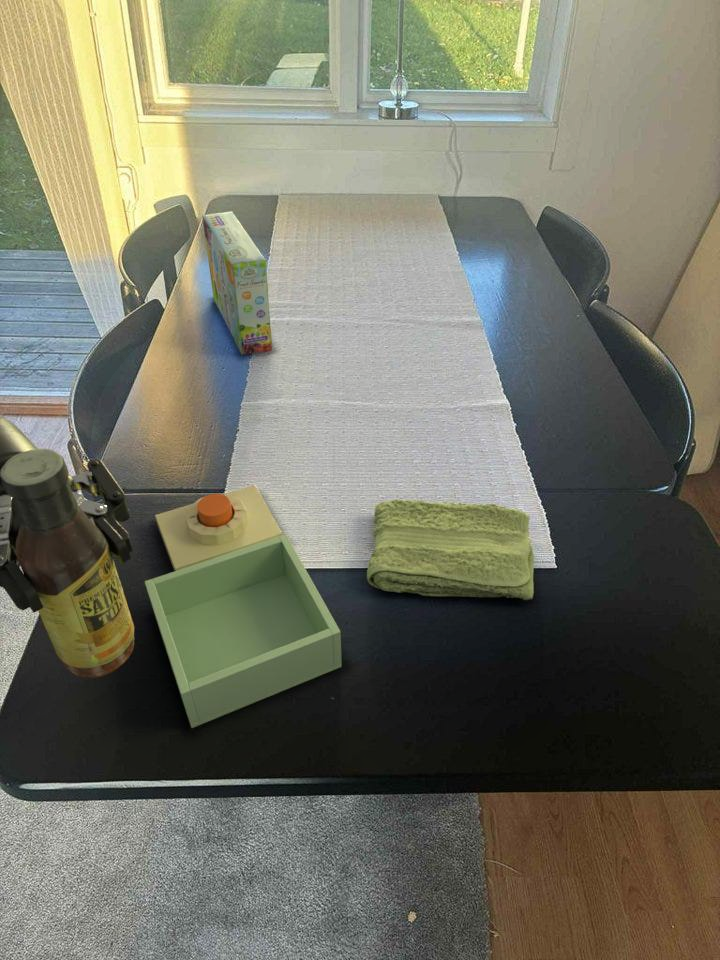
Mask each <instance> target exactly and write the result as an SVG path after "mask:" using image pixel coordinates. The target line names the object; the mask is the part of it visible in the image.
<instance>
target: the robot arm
mask: <svg viewBox="0 0 720 960" xmlns="http://www.w3.org/2000/svg"><path fill="white" fill-rule="evenodd" d="M33 449H38V447H37V446H36V445H35V444H34V443H33V442H32V441H31V440H30V439H29V438H28V436H27V435H26V434H25V433H24V432H23V431H22V429H20V428H19V427H18V426H17V425H16V424H14V423H13V422H12V421H11V420H9V419H7V418H6V417H5V415H3V414H2V413H1V412H0V471H1V468H2V467H3V466H4V464H5V463H6V462H7V461H8V460H9V459H11V458H12V457H14V456H15V455H17V454H20V453H22V452H26V451H29V450H33ZM86 466H87V469H88V470H85V471H83V472H79V473H77V474H75V475H73V476H71V475H70V474H69V477H68V481H69V484H70V487H71V490H72V493H73V496H74V497H75V499H76V501H77V504H78V506H79V507H80V508H81V509H82V511H83V512H84V513H85V514H86V516H87V517H88V518H89V519H90V520H91V521H92V522H93V524H94V525H95V526H96V527H97V528H98V529H99V530H100V531H101V532H102V533H103V534H104V535H105V536H106V538H107V541H108V544H109V547H110V550H111V554H112V556H114V557H115V558H116V559H117V561H118V562H119V563H120V564H121V565H124V564H125V563H128V562H129V561H131V560H132V557H131V553H132V552H133V551H134V548H133V544H132V541H131V537H130V534H129V532H128V531H127V530H126V529H125V527H123V526H122V525H121V523H125V522H128V520H129V519H131V512H130V509H129V507H128V504H127V501H126V494H125V492H124V491H123V489H122V487H121V486H120V485H119V483H118V482H117V480H116V479H115V478H114V477H113V475H112V473H111V472H110V470H109V469H108V468H107V467H106V465H105V463H104V462H103V461H102V459H99V458H96V459H95V458H94V459H92V460H89V461H88V462H87V464H86ZM79 491H85V492H87V493H88V494H92V497H94V498H97V497H100V498H101V500H102V501H103V503H100V502H97V501H93V500H89V499H86V497H85V496H84V495H83V494H82V493H79ZM21 525H22V523H21V522H20V520H19V513H18V511H17V509H16V506H15V504H14V501H13V498H12V497H11V496H10V495H9V494H7V492H6V491H5V488H4V486H3V483H2V480H1V477H0V588H2V589H4V591H5V592H6V593H7V595H8V596H9V598H10V599H11V601H12V602H13V604H14V605H15V607H16V608H17V609H19V610H21V611H26V610H28V609H29V608H30V610H31V611H32V613H34V614H35V613H36V612H39V611H38V610H40V609H42V608H43V605H42V603H41V601H40V599H39V596H38V594H37V592H36V590H35V589H34V587H33V586H32V584H31V583H30V582H29V580H28V579H27V578H26V576H25V575H24V573H23V571H22V569H21V566H20V564H19V562H18V559H17V555H16V540H17V536H18V531H19V529H20V526H21Z"/></svg>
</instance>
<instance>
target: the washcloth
mask: <svg viewBox="0 0 720 960" xmlns="http://www.w3.org/2000/svg"><path fill="white" fill-rule="evenodd" d="M530 515H531V514H530V513H526V512H524V511H522V510H521V509H519V508H518V509H517V508H510V507H506V506H502V505H497V504H493V503H490V504H489V503H486V504H482V503H480V504H477V503H473V504H472V503H462V502H458V503H454V502H449V503H447V502H436V501H433V502H430V501H427V500H423V499H419V500H415V499H410V500H406V499H405V500H402V499H393V500H385V501H380V502H379V503H377V504H376V505H375V509H374V519H373V521H374V528H373V535H372V537H374V539H375V540H374V550H373V552H372V553H371V556H370V560H369V562H368V568H367V570H366V579H367V583H368V584H370V585H371V587H374V588H377V589H379V590H381V591H384V592H389V593H398V594H399V593H408V594H409V593H410V594H418V595H420V596H423V597H439V598H441V597H464V598H501V597H505V598H506V599H509V598H510V599H521V600H524V601H528V600H533V597H534V594H535V591H534V588H535V587H534V571H535V569H534V568H535V567H534V564H535V555H534V550H533V547H532V541H531V539H530V531H529V530H530V529H529V528H530V527H529V526H530V525H529V524H530V518H531V517H530Z"/></svg>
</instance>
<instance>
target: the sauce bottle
mask: <svg viewBox="0 0 720 960" xmlns="http://www.w3.org/2000/svg"><path fill="white" fill-rule="evenodd" d="M69 475H70V473H69V469H68V466H67V463H66V461H65V459H64V456H62V455H61V454H60V453H59V452H57V451H56V450H54V449H49V448H37V449H33V450H29V451H26V452H22V453H20V454H17V455H15V456H14V457H12V458H11V459H9V460H8V461H7V462H6V463H5V464H4V466H3V467H2V468H1V471H0V477H1V480H2V483H3V486H4V488H5V491H6V492H7V494H9V495H10V496H11V497H12V498H13V501H14V504H15V506H16V509H17V511H18V513H19V520H20V522H21V523H22V525H21V526H20V529H19V531H18V536H17V540H16V555H17V559H18V562H19V564H20V569H21V571H22V572H23V574H24V575H25V576H26V578H27V579H28V580H29V582H30V583H31V584H32V586H33V587H34V589H35V590H36V592H37V594H38V596H39V599H40V601H41V603H42V605H43V608H42V609H40V610H38V611H37V612H38V614H39V616H40V618H41V621H42V623H43V626H44V628H45V630H46V632H47V635H48V638H49V639H50V641H51V644H52V647H53V649H54V652H55V654H56V655H57V657H58V658H59V659H60V660H61V663H62V665H63V667H64V668H65V670H67V671H68V672H69V673H71V674H72V675H74V676H77V677H79V678H84V679H95V678H100V677H101V678H102V677H104V676H107V675H109V674H111V673H113V672H114V671H116V670H118V669H119V668H120V667H121V666H123V665H124V664H125V663H126V661H128V660H129V659H130V657H131V655H132V654H133V652H134V647H135V640H136V639H135V638H136V637H135V625H134V621H133V618H132V615H131V612H130V609H129V608H130V607H129V606H128V603H127V599H126V595H125V593H124V589H123V586H122V582H121V579H120V576H119V573H118V571H117V567H116V564H115V563H116V562H115V560H114V558H113V554H112V552H111V550H110V547H109V544H108V541H107V538H106V536H105V535H104V534H103V533H102V532H101V531H100V530H99V529H98V528H97V527H96V526H95V525H94V524H93V522H92V521H91V520H90V519H89V518H88V517H87V516H86V514H85V513H84V512H83V511H82V509H81V508H80V507H79V506H78V504H77V501H76V499H75V497H74V496H73V493H72V490H71V487H70V484H69V481H68V477H69Z"/></svg>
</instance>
